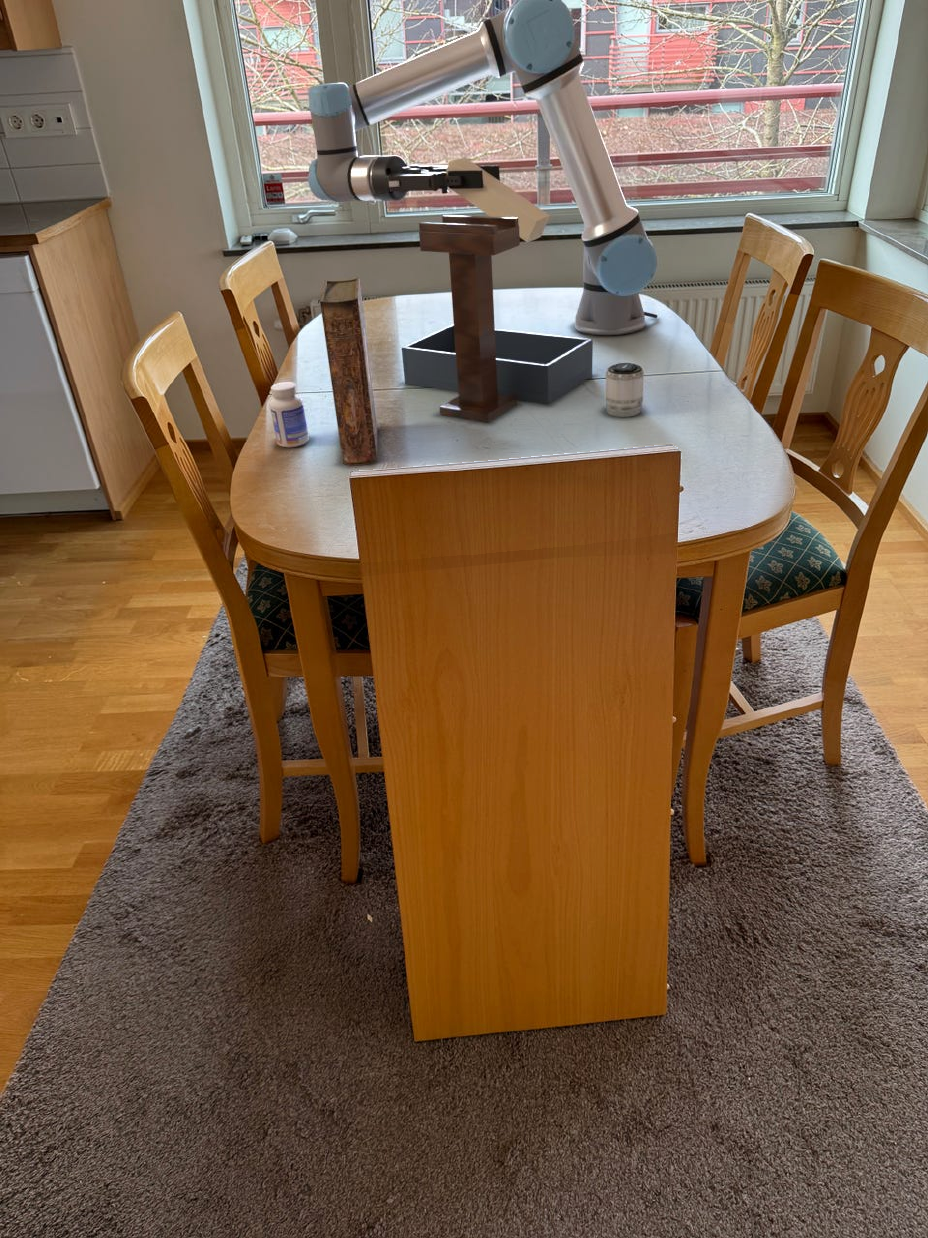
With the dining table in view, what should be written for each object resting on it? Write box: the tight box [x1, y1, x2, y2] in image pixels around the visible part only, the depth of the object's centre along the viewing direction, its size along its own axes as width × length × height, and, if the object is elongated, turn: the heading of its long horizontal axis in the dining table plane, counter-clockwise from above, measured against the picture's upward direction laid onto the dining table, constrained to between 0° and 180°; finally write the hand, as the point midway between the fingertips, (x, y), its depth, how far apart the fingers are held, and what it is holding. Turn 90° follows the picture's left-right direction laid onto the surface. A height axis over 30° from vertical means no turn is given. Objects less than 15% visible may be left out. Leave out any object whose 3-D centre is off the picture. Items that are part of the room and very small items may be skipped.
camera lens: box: [605, 362, 645, 418], centre depth 154 cm, size 6×6×8 cm
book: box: [319, 276, 378, 466], centre depth 144 cm, size 16×6×25 cm, turn 5°
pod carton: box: [446, 156, 551, 243], centre depth 157 cm, size 19×5×4 cm, turn 58°
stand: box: [418, 214, 521, 424], centre depth 153 cm, size 14×10×31 cm
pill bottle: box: [269, 381, 310, 448], centre depth 152 cm, size 5×5×10 cm
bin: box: [401, 323, 594, 406], centre depth 173 cm, size 32×18×7 cm, turn 57°
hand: (489, 176), depth 156 cm, fingers closed on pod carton, 5 cm apart
